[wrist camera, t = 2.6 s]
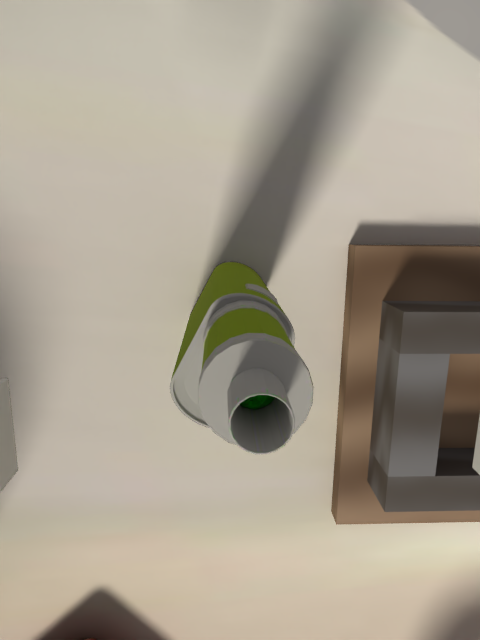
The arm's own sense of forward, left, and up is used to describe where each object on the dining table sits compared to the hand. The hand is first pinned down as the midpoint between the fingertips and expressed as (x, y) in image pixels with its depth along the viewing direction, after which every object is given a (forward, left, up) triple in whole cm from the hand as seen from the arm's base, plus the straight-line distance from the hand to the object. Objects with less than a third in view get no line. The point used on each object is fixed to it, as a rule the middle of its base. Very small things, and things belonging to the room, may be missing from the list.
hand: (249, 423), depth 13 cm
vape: (0, 0, -19) cm, 19 cm away
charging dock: (-6, -16, -18) cm, 25 cm away
